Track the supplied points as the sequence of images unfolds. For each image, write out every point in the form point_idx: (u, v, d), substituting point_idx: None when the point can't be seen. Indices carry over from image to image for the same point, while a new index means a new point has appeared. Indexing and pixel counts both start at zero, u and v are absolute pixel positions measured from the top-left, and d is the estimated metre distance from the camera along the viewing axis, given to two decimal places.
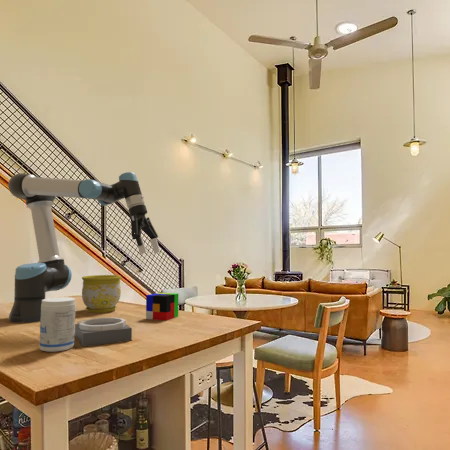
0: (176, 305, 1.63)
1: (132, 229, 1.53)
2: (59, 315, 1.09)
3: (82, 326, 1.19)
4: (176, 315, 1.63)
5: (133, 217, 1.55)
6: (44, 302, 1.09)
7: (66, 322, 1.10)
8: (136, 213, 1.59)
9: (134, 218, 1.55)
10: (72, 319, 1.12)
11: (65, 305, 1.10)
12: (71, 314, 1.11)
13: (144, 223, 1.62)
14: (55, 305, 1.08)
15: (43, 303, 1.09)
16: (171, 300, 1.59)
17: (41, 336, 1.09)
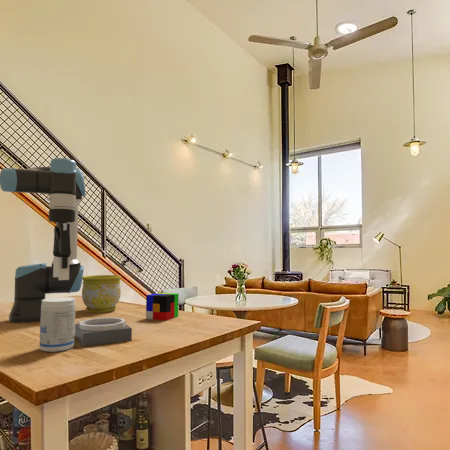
0: (176, 305, 1.63)
1: None
2: (59, 315, 1.09)
3: (82, 326, 1.19)
4: (176, 315, 1.63)
5: None
6: (44, 302, 1.09)
7: (66, 322, 1.10)
8: None
9: None
10: (72, 319, 1.12)
11: (65, 305, 1.10)
12: (71, 314, 1.11)
13: None
14: (55, 305, 1.08)
15: (43, 303, 1.09)
16: (171, 300, 1.59)
17: (41, 336, 1.09)
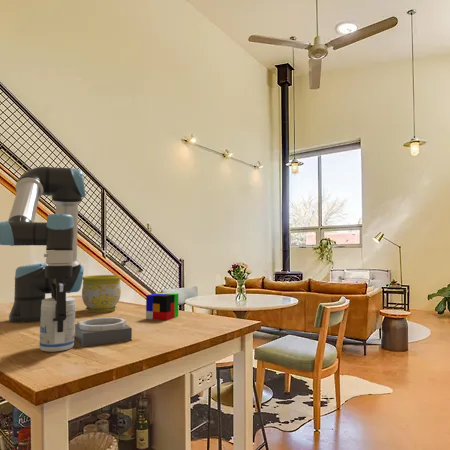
0: (176, 305, 1.63)
1: None
2: None
3: (82, 326, 1.19)
4: (176, 315, 1.63)
5: None
6: (44, 302, 1.09)
7: (66, 322, 1.10)
8: None
9: None
10: (72, 319, 1.12)
11: None
12: (71, 314, 1.11)
13: None
14: (55, 305, 1.08)
15: (43, 303, 1.09)
16: (171, 300, 1.59)
17: (41, 336, 1.09)
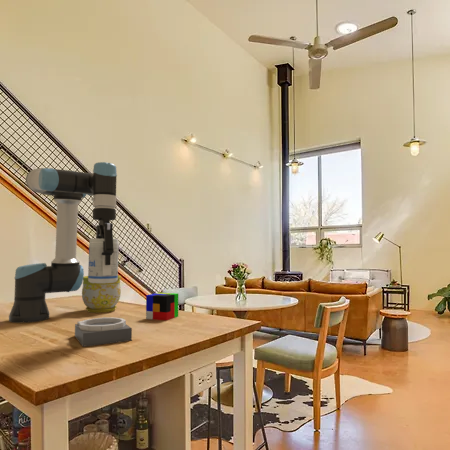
0: (176, 305, 1.63)
1: None
2: None
3: (82, 326, 1.19)
4: (176, 315, 1.63)
5: None
6: (93, 239, 1.23)
7: (112, 257, 1.23)
8: None
9: None
10: (116, 256, 1.25)
11: None
12: (116, 251, 1.25)
13: None
14: None
15: (92, 240, 1.23)
16: (171, 300, 1.59)
17: (90, 269, 1.22)
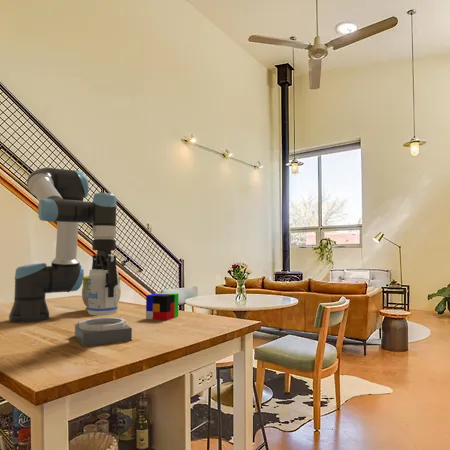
0: (176, 305, 1.63)
1: None
2: None
3: (82, 326, 1.19)
4: (176, 315, 1.63)
5: None
6: (94, 271, 1.22)
7: (114, 289, 1.24)
8: None
9: None
10: (117, 287, 1.26)
11: None
12: None
13: (100, 263, 1.25)
14: (105, 273, 1.22)
15: (93, 272, 1.22)
16: (171, 300, 1.59)
17: (91, 302, 1.21)
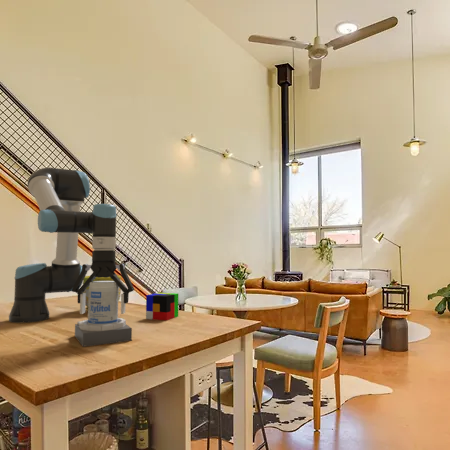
0: (176, 305, 1.63)
1: None
2: (117, 294, 1.25)
3: (82, 326, 1.19)
4: (176, 315, 1.63)
5: None
6: (106, 284, 1.22)
7: None
8: (92, 260, 1.25)
9: None
10: None
11: None
12: None
13: (103, 274, 1.25)
14: (116, 285, 1.25)
15: (105, 285, 1.22)
16: (171, 300, 1.59)
17: (103, 315, 1.21)
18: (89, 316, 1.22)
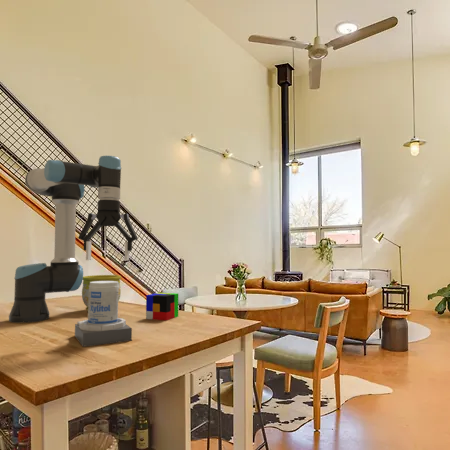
0: (176, 305, 1.63)
1: None
2: (117, 294, 1.25)
3: (82, 326, 1.19)
4: (176, 315, 1.63)
5: None
6: (106, 284, 1.22)
7: None
8: None
9: None
10: None
11: None
12: None
13: (108, 222, 1.31)
14: (116, 285, 1.25)
15: (105, 285, 1.22)
16: (171, 300, 1.59)
17: (103, 315, 1.21)
18: (89, 316, 1.22)
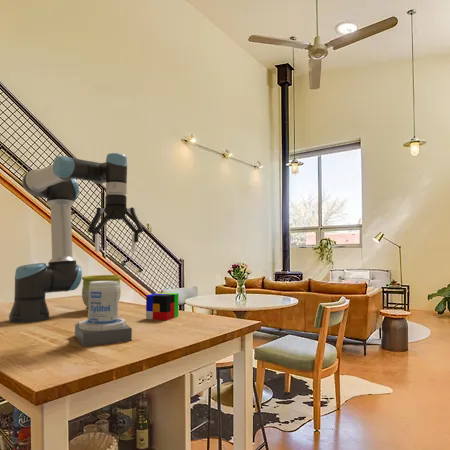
0: (176, 305, 1.63)
1: None
2: (117, 294, 1.25)
3: (82, 326, 1.19)
4: (176, 315, 1.63)
5: None
6: (106, 284, 1.22)
7: None
8: None
9: None
10: None
11: None
12: None
13: (115, 216, 1.39)
14: (116, 285, 1.25)
15: (105, 285, 1.22)
16: (171, 300, 1.59)
17: (103, 315, 1.21)
18: (89, 316, 1.22)
